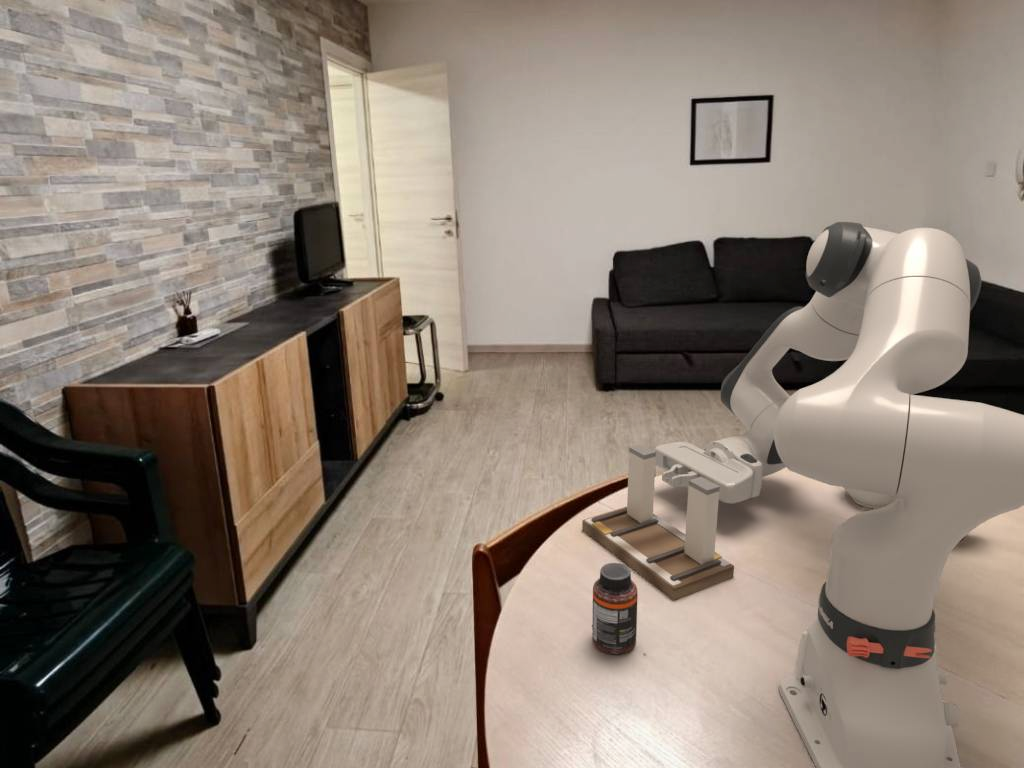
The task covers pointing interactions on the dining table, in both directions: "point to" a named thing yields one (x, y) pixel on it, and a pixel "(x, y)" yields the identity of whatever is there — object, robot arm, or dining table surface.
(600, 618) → the supplement bottle
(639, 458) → the tab
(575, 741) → the dining table surface
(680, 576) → the slotted wooden base
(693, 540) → the tab
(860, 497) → the lidded bowl
